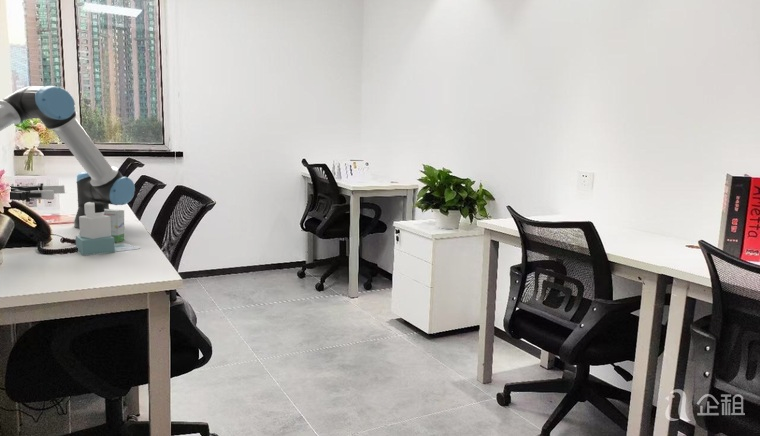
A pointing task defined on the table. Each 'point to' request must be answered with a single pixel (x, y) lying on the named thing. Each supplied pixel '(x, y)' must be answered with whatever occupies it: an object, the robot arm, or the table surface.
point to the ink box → (116, 223)
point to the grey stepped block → (94, 221)
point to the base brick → (95, 245)
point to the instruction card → (124, 247)
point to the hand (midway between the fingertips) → (59, 191)
